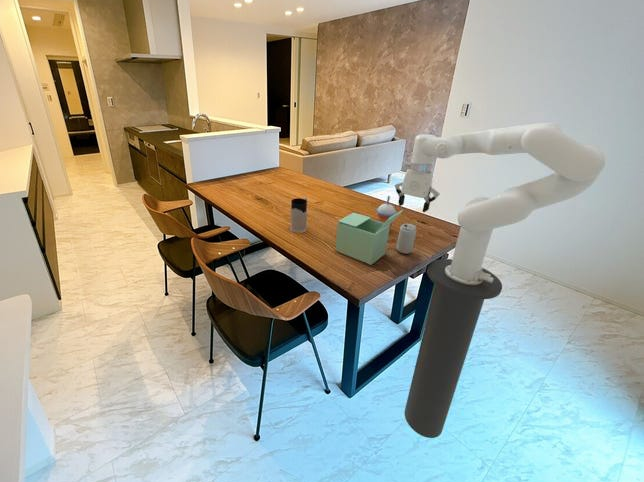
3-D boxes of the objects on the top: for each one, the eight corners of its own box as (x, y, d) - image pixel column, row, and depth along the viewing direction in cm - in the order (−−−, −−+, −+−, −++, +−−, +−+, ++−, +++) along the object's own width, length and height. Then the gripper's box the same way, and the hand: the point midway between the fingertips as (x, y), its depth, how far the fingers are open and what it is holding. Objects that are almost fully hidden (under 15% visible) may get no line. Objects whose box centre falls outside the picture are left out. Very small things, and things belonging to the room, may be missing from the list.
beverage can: (396, 245, 132) (401, 221, 127) (412, 248, 129) (417, 224, 124) (395, 252, 127) (399, 227, 122) (411, 256, 124) (416, 231, 119)
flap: (390, 223, 121) (390, 223, 121) (375, 232, 113) (376, 233, 112) (402, 209, 116) (403, 209, 115) (388, 218, 107) (389, 219, 107)
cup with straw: (371, 230, 147) (376, 197, 139) (377, 223, 154) (382, 191, 146) (390, 235, 142) (396, 201, 134) (395, 228, 149) (401, 195, 141)
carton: (385, 253, 126) (390, 223, 121) (371, 265, 118) (375, 232, 112) (350, 240, 137) (353, 212, 132) (335, 250, 129) (337, 220, 123)
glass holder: (286, 230, 148) (287, 202, 141) (298, 219, 159) (298, 193, 152) (303, 234, 144) (304, 206, 137) (313, 222, 155) (314, 195, 149)
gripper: (394, 165, 119) (388, 205, 125) (441, 173, 107) (431, 216, 114) (402, 162, 123) (396, 200, 130) (447, 169, 112) (438, 211, 119)
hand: (412, 208), depth 122 cm, fingers open, 9 cm apart
